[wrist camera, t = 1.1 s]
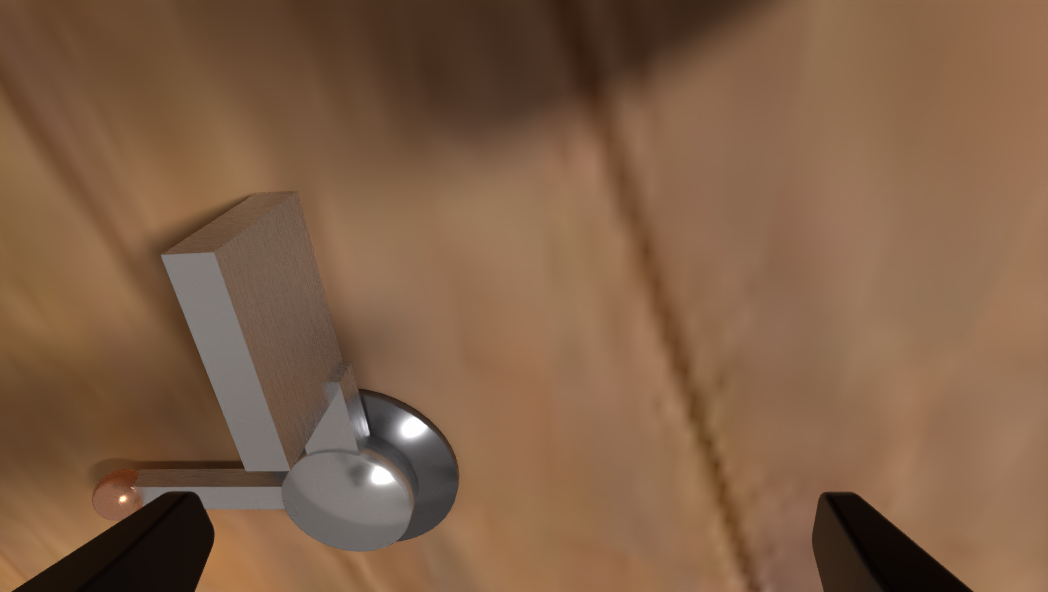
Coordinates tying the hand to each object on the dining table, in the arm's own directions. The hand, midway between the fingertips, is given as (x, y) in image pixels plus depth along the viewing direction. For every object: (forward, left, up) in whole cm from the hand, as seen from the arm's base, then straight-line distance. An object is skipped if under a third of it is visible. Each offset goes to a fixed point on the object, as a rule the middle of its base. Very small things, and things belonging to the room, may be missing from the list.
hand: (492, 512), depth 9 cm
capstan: (+12, +6, -12) cm, 18 cm away
